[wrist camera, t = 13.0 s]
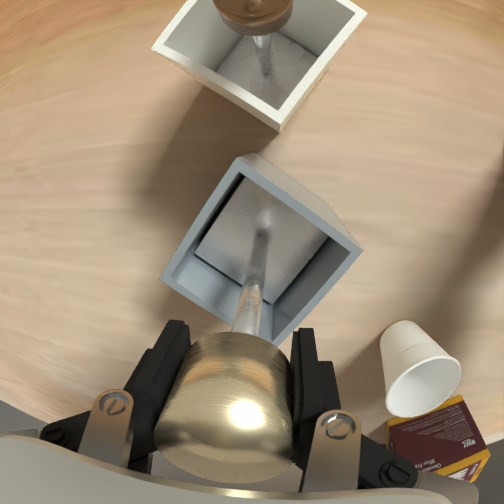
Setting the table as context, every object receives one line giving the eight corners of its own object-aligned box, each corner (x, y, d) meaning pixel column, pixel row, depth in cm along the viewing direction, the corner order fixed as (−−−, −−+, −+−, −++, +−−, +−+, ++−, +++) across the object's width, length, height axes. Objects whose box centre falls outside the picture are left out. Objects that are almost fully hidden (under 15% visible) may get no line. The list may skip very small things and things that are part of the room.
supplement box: (385, 419, 45) (404, 490, 30) (461, 393, 42) (492, 454, 27) (384, 447, 48) (398, 510, 33) (452, 424, 45) (476, 480, 31)
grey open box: (254, 151, 32) (236, 157, 18) (329, 205, 33) (363, 250, 19) (205, 224, 35) (158, 279, 21) (276, 272, 37) (273, 351, 23)
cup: (355, 360, 40) (371, 417, 30) (381, 301, 37) (410, 353, 27) (412, 366, 40) (435, 417, 30) (440, 311, 37) (475, 358, 26)
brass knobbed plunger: (248, 172, 24) (150, 273, 5) (330, 230, 25) (422, 428, 6) (195, 250, 26) (71, 434, 8) (272, 301, 27) (256, 517, 9)
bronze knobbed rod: (256, 23, 26) (230, -89, 8) (320, 62, 27) (370, -29, 9) (213, 79, 28) (132, 11, 10) (277, 119, 29) (275, 83, 11)
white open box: (255, 18, 27) (239, -54, 13) (331, 64, 28) (368, 13, 14) (203, 85, 30) (150, 48, 16) (279, 133, 31) (280, 124, 17)
